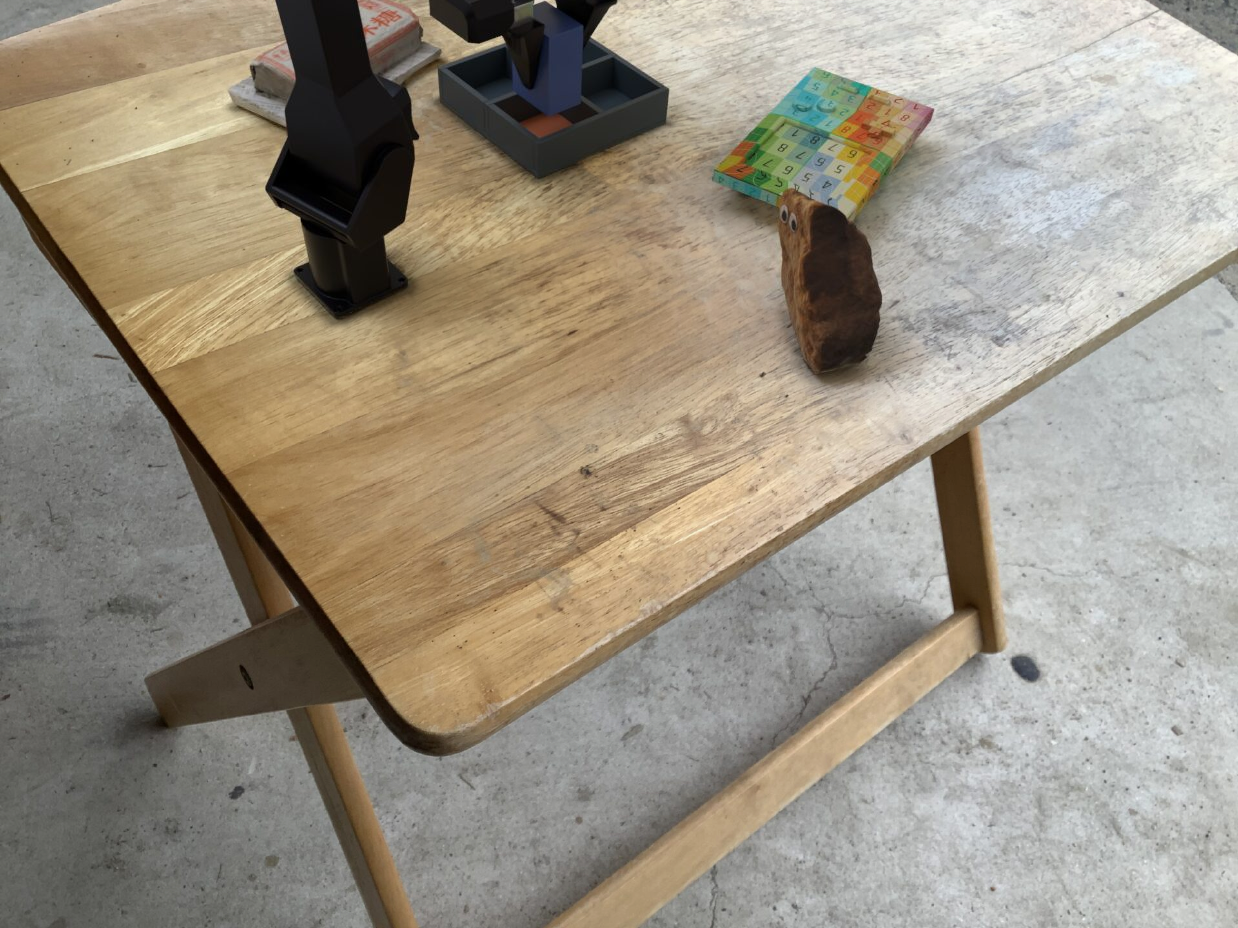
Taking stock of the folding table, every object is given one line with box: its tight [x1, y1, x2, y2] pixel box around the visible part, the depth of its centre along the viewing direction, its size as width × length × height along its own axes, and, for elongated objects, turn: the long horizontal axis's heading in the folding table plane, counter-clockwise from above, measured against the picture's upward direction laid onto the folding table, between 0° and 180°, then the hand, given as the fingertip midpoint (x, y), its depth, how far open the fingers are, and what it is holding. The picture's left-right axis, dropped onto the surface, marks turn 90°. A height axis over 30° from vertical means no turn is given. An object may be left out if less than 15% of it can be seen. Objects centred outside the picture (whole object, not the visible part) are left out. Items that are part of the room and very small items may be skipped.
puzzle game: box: [711, 67, 935, 222], centre depth 94 cm, size 12×5×20 cm
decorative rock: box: [777, 188, 883, 375], centre depth 79 cm, size 12×6×11 cm, turn 11°
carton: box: [512, 0, 583, 117], centre depth 91 cm, size 5×4×7 cm
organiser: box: [437, 36, 670, 180], centre depth 99 cm, size 15×15×4 cm
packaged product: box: [227, 0, 443, 128], centre depth 100 cm, size 18×5×10 cm
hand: (546, 80), depth 92 cm, fingers closed on carton, 3 cm apart
